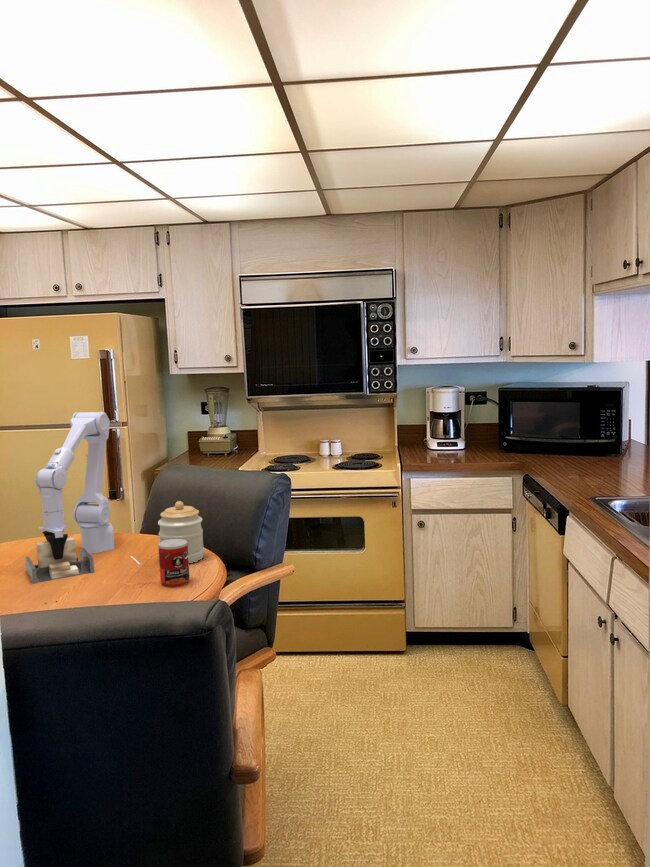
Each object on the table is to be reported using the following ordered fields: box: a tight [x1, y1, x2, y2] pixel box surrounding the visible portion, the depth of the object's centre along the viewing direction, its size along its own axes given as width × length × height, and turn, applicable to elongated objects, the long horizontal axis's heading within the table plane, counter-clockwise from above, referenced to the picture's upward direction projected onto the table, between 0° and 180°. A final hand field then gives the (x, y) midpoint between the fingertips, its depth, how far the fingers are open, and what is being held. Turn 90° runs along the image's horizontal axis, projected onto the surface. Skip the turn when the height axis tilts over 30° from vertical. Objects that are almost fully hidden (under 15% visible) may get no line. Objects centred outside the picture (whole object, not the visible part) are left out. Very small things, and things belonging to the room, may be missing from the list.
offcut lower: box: [49, 565, 79, 579], centre depth 191 cm, size 7×4×2 cm, turn 120°
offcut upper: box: [49, 562, 71, 573], centre depth 191 cm, size 5×3×2 cm
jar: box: [157, 500, 205, 564], centre depth 205 cm, size 13×13×18 cm
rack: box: [24, 547, 95, 584], centre depth 194 cm, size 16×13×5 cm
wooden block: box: [35, 537, 77, 568], centre depth 197 cm, size 10×3×8 cm, turn 121°
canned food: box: [158, 539, 190, 588], centre depth 184 cm, size 8×8×11 cm
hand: (56, 556), depth 197 cm, fingers open, 4 cm apart
